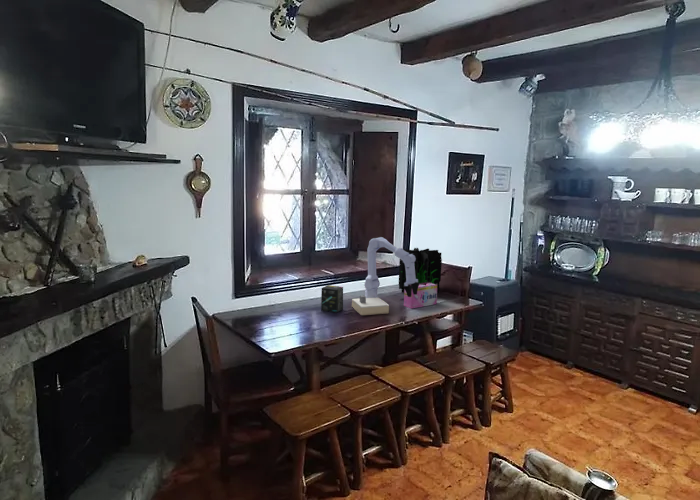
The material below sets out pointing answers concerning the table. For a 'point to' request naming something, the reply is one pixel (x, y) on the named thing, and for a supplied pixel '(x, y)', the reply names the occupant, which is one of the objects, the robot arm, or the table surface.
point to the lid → (369, 302)
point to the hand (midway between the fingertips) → (412, 295)
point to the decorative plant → (423, 267)
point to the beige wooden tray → (370, 309)
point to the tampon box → (332, 298)
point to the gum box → (422, 296)
